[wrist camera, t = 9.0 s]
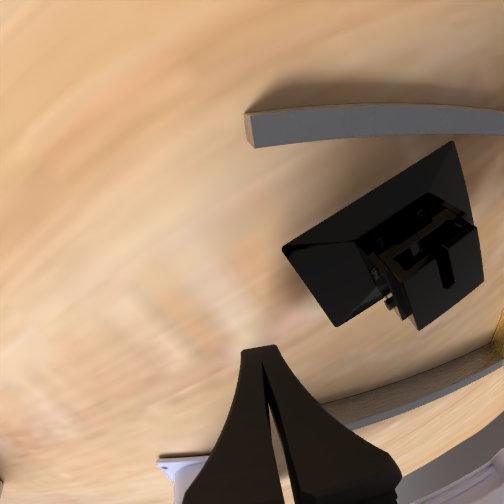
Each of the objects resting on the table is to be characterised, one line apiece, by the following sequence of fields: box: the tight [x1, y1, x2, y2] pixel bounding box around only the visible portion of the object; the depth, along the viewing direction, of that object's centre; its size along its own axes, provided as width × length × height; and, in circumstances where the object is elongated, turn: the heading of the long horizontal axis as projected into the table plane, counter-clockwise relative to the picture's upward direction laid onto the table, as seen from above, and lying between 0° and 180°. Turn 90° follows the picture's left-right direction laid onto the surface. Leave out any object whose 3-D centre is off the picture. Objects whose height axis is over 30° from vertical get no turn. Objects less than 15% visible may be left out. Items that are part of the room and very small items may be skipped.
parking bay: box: [244, 103, 504, 430], centre depth 14 cm, size 18×18×2 cm
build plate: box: [282, 141, 484, 331], centre depth 12 cm, size 12×7×5 cm, turn 123°
